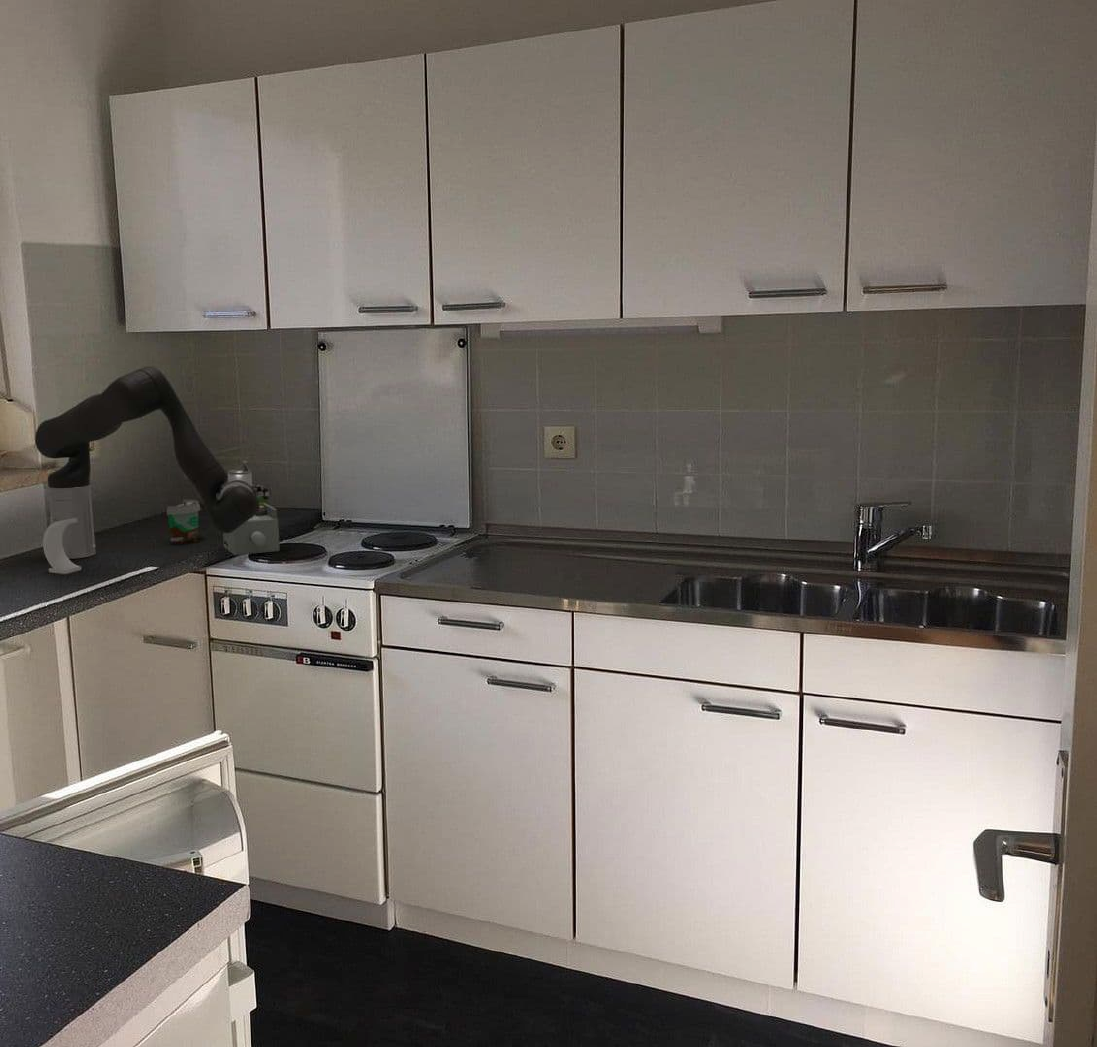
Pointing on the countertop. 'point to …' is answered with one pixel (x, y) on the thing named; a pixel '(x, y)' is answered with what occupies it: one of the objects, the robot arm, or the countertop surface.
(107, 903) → the countertop surface
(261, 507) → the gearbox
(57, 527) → the headphone stand
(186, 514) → the food container
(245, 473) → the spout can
